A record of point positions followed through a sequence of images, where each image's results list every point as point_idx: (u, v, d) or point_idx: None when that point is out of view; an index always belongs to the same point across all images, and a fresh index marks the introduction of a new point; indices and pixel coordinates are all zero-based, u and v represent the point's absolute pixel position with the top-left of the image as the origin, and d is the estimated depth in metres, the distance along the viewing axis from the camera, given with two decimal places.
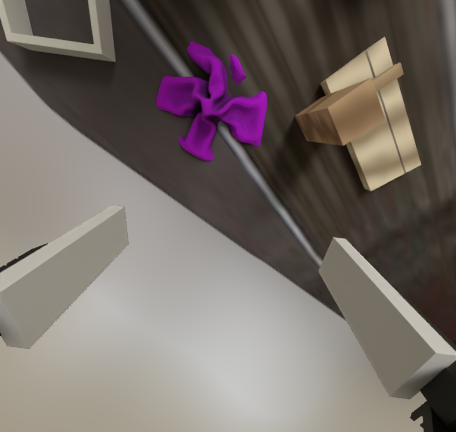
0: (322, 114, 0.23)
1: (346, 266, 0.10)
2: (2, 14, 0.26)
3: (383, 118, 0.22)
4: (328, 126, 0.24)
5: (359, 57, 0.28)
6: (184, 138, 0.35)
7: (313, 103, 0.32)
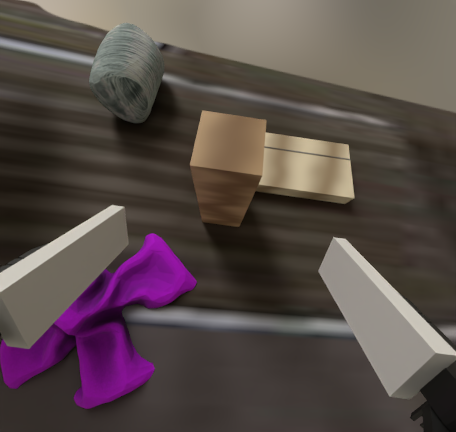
0: (201, 181, 0.14)
1: (346, 266, 0.10)
2: None
3: (263, 121, 0.14)
4: (223, 182, 0.14)
5: None
6: None
7: None
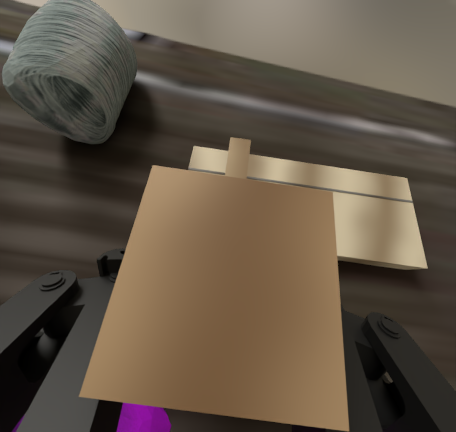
0: None
1: None
2: None
3: (323, 195, 0.05)
4: None
5: None
6: None
7: None
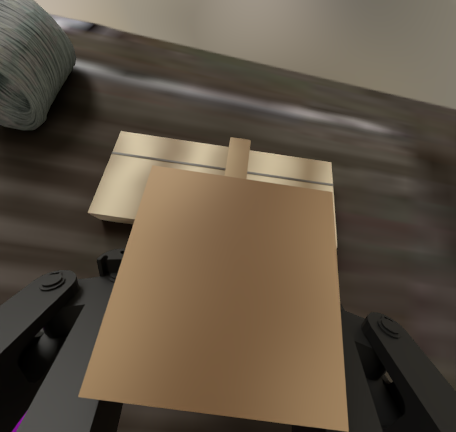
0: None
1: None
2: None
3: (323, 195, 0.05)
4: None
5: (111, 162, 0.18)
6: None
7: None
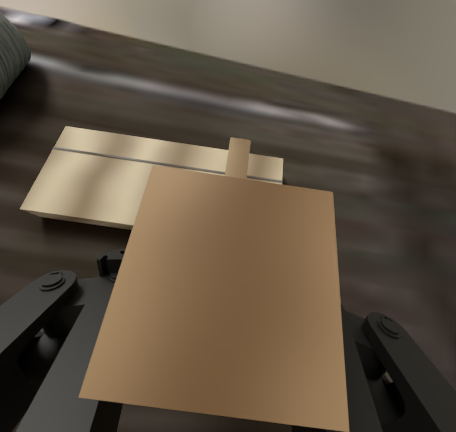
0: None
1: None
2: None
3: (323, 195, 0.05)
4: None
5: (51, 157, 0.17)
6: None
7: None
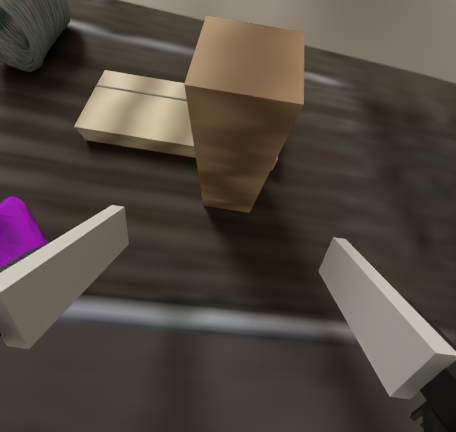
0: (202, 124, 0.09)
1: (346, 266, 0.10)
2: None
3: (299, 33, 0.09)
4: (236, 126, 0.09)
5: (95, 92, 0.21)
6: None
7: None
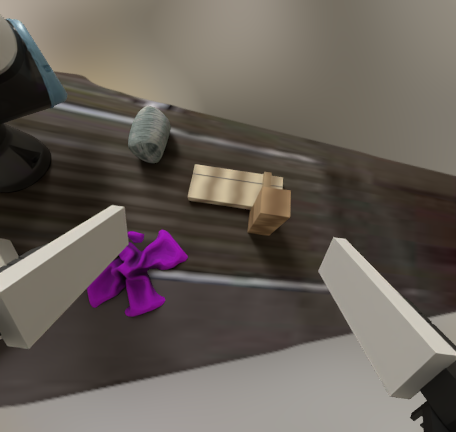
0: (261, 217, 0.33)
1: (346, 266, 0.10)
2: None
3: (289, 191, 0.32)
4: (271, 218, 0.32)
5: (193, 177, 0.45)
6: (129, 307, 0.36)
7: (249, 218, 0.43)
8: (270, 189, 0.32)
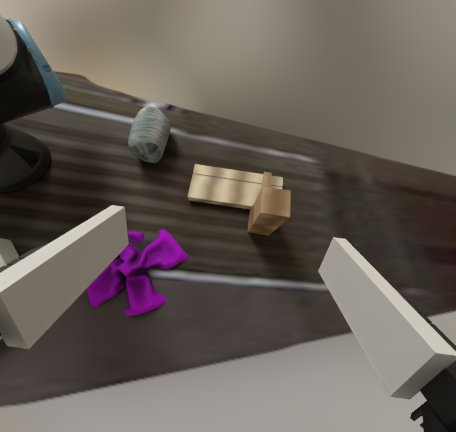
0: (261, 217, 0.33)
1: (346, 266, 0.10)
2: None
3: (288, 191, 0.32)
4: (271, 218, 0.32)
5: (193, 177, 0.45)
6: (129, 307, 0.36)
7: (249, 217, 0.43)
8: (270, 189, 0.32)
